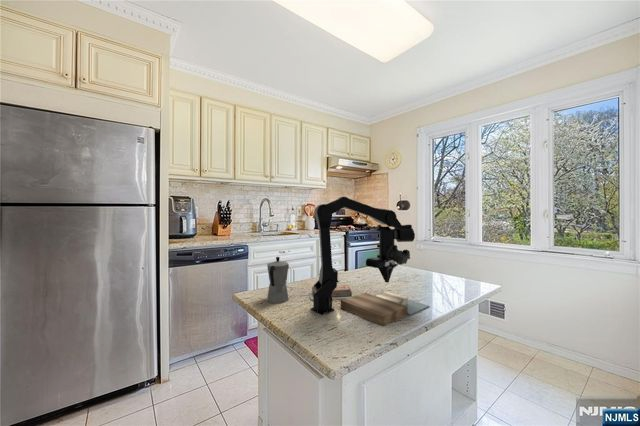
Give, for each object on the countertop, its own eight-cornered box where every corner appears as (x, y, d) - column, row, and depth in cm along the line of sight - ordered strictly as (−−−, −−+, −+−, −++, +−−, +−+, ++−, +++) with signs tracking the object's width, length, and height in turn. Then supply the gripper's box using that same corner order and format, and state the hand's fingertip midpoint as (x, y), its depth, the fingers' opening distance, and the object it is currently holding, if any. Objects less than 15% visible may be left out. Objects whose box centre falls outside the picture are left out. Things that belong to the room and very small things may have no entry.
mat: (410, 315, 93) (410, 314, 93) (363, 299, 110) (363, 298, 110) (429, 307, 101) (429, 305, 101) (383, 293, 118) (383, 291, 118)
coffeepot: (272, 294, 117) (272, 254, 117) (292, 295, 116) (292, 254, 115) (259, 306, 102) (259, 260, 102) (282, 308, 100) (282, 261, 100)
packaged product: (348, 282, 120) (353, 289, 110) (347, 292, 120) (353, 300, 110) (308, 283, 118) (310, 290, 108) (308, 294, 118) (310, 302, 108)
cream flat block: (396, 309, 98) (396, 302, 98) (374, 301, 105) (374, 295, 105) (407, 304, 103) (407, 297, 103) (386, 297, 111) (386, 291, 111)
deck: (383, 325, 85) (383, 316, 85) (340, 307, 101) (340, 300, 100) (407, 314, 94) (407, 306, 94) (365, 299, 109) (365, 292, 109)
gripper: (389, 246, 90) (389, 292, 90) (418, 242, 101) (418, 282, 102) (364, 243, 98) (364, 284, 99) (394, 239, 110) (394, 276, 110)
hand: (386, 282), depth 102 cm, fingers closed
